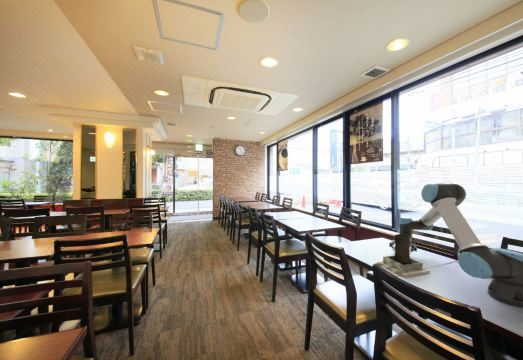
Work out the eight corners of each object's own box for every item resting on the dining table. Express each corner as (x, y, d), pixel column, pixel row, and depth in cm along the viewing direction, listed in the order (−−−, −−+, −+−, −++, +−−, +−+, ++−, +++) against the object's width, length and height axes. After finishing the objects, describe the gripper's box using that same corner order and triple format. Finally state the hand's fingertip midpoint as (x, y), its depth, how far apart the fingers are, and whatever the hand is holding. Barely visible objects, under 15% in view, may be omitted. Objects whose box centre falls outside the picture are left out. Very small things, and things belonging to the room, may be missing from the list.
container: (413, 267, 131) (413, 238, 130) (397, 265, 132) (397, 237, 132) (406, 261, 139) (407, 234, 139) (391, 260, 141) (392, 233, 141)
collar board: (429, 272, 129) (429, 264, 129) (404, 277, 123) (404, 268, 123) (399, 260, 148) (400, 252, 148) (377, 263, 143) (377, 255, 143)
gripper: (422, 249, 144) (422, 260, 126) (387, 243, 156) (382, 252, 138) (422, 238, 143) (422, 247, 125) (387, 233, 156) (382, 241, 138)
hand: (401, 250), depth 132 cm, fingers closed on container, 8 cm apart
